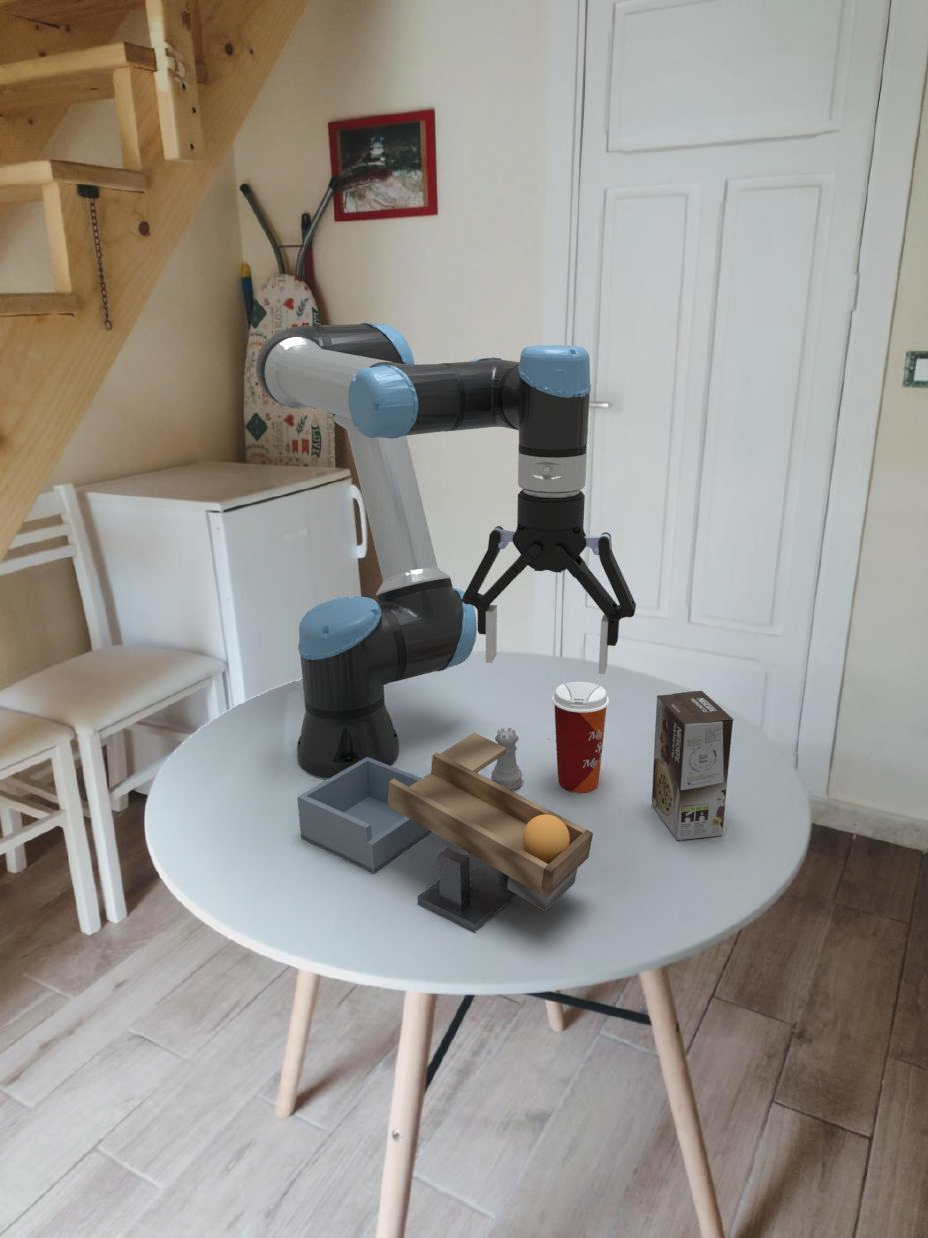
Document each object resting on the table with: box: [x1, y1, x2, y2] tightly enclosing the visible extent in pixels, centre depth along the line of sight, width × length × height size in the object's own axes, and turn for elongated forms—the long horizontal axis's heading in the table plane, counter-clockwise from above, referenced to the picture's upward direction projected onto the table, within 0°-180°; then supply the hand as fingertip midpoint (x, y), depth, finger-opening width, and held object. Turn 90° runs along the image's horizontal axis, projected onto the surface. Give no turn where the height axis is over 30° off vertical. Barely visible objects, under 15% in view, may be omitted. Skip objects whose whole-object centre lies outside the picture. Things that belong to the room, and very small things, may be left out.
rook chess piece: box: [490, 727, 524, 791], centre depth 121 cm, size 4×4×8 cm
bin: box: [296, 757, 433, 874], centre depth 110 cm, size 13×13×6 cm
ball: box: [523, 814, 570, 863], centre depth 93 cm, size 5×5×5 cm
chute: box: [388, 732, 594, 912], centre depth 101 cm, size 22×16×6 cm
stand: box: [417, 847, 518, 933], centre depth 100 cm, size 8×15×7 cm, turn 142°
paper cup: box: [551, 681, 610, 794], centre depth 120 cm, size 8×8×14 cm
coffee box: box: [651, 690, 734, 841], centre depth 110 cm, size 9×6×16 cm
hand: (546, 664), depth 105 cm, fingers open, 13 cm apart
